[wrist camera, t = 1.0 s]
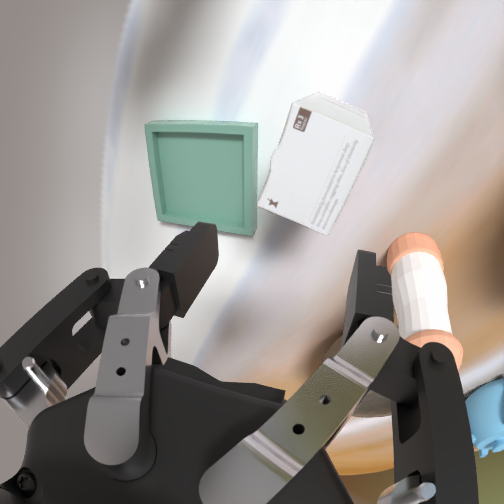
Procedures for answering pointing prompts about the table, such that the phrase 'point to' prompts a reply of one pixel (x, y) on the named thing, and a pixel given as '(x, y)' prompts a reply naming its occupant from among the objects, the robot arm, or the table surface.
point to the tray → (205, 173)
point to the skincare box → (317, 161)
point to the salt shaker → (421, 292)
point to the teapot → (487, 416)
